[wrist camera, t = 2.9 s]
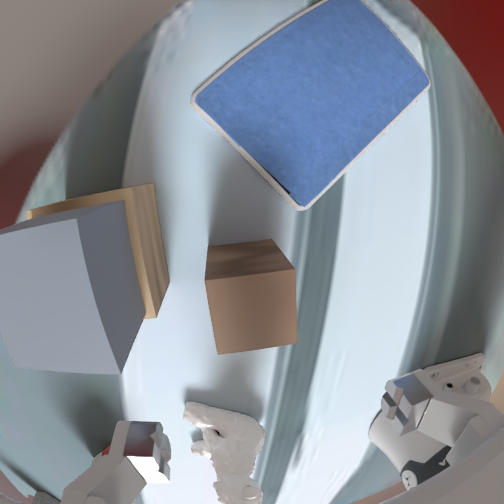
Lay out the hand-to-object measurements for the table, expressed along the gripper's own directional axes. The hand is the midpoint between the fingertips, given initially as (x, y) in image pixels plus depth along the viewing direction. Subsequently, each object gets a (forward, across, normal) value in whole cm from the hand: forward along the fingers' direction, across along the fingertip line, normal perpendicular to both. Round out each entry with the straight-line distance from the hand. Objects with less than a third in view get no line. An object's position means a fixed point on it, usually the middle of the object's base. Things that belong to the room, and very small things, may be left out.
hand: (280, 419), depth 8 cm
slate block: (+9, +10, -4) cm, 14 cm away
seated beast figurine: (+15, +3, +18) cm, 24 cm away
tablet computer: (+16, -9, -15) cm, 23 cm away
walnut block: (+15, 0, 0) cm, 15 cm away
